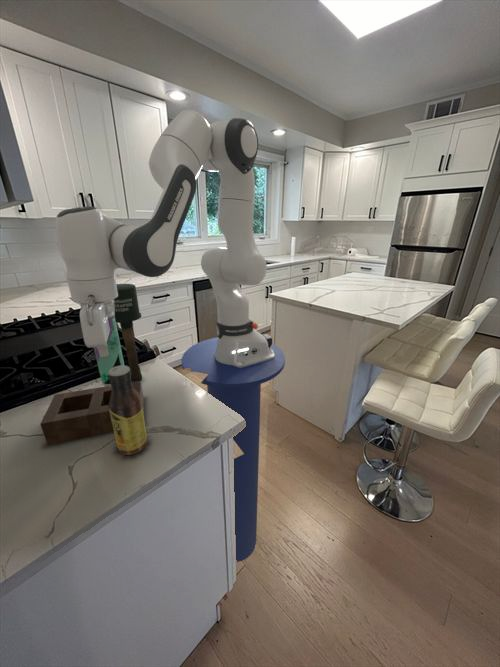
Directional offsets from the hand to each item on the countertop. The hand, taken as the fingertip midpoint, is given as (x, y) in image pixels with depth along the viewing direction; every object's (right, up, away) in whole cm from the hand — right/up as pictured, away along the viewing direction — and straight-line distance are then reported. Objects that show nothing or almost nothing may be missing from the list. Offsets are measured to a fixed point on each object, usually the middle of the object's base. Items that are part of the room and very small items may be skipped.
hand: (106, 348), depth 64 cm
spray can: (0, -8, +3) cm, 9 cm away
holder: (-4, -18, +6) cm, 20 cm away
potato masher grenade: (-2, -12, +22) cm, 25 cm away
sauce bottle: (+7, -22, -2) cm, 23 cm away
